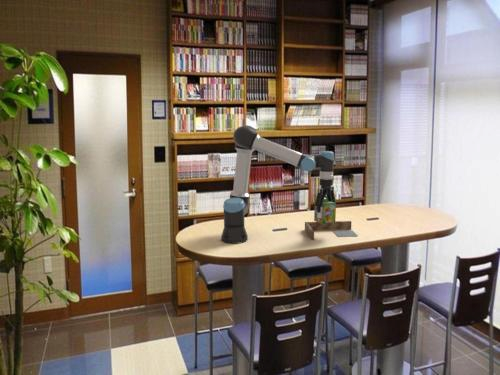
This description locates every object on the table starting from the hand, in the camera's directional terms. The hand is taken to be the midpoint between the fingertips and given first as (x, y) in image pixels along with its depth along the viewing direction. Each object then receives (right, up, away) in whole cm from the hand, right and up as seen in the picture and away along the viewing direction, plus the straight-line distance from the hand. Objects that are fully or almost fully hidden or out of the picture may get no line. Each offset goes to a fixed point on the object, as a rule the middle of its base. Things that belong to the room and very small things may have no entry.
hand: (324, 216), depth 267 cm
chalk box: (0, -3, +1) cm, 3 cm away
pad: (+13, -11, +7) cm, 19 cm away
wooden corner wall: (+5, -11, +7) cm, 14 cm away
